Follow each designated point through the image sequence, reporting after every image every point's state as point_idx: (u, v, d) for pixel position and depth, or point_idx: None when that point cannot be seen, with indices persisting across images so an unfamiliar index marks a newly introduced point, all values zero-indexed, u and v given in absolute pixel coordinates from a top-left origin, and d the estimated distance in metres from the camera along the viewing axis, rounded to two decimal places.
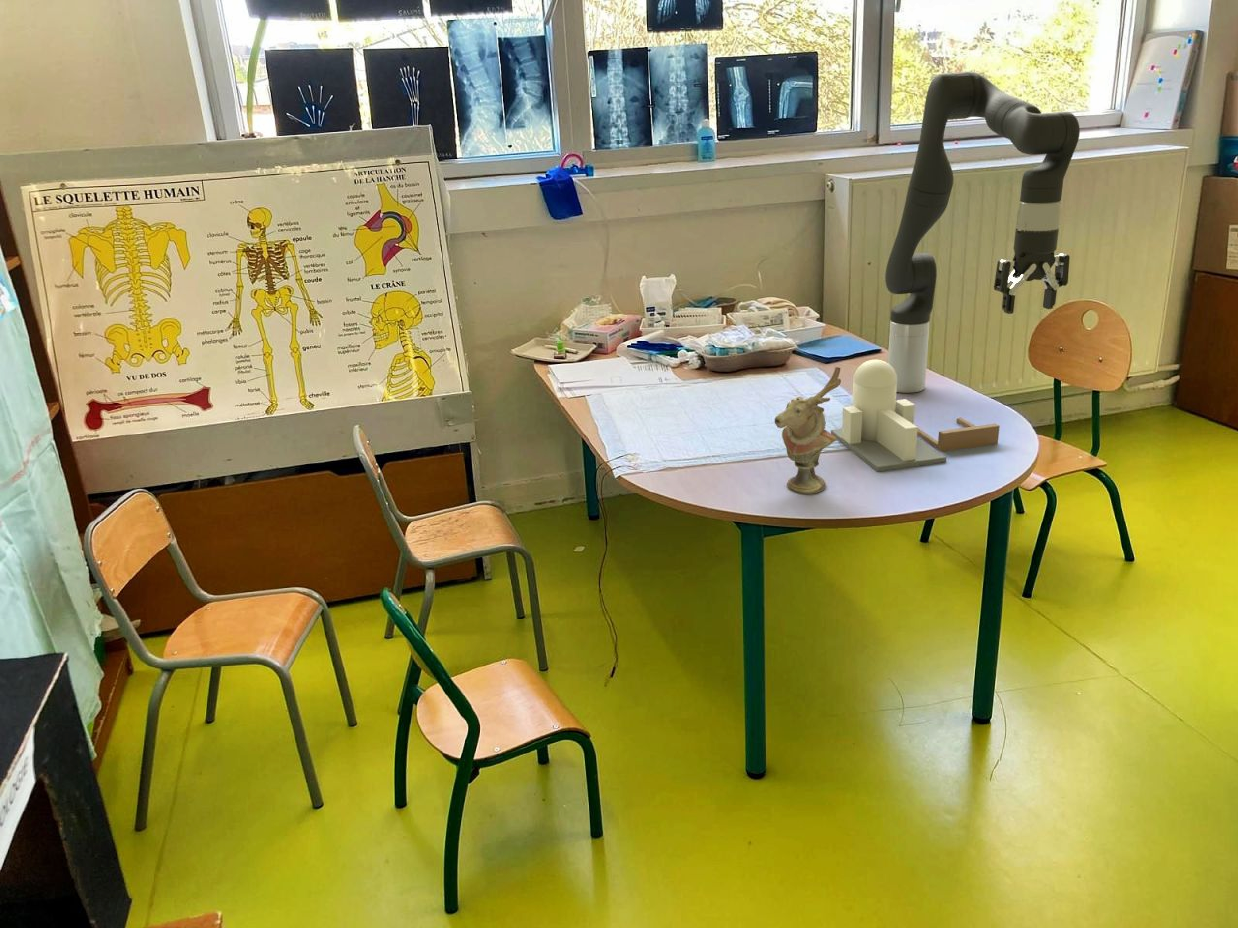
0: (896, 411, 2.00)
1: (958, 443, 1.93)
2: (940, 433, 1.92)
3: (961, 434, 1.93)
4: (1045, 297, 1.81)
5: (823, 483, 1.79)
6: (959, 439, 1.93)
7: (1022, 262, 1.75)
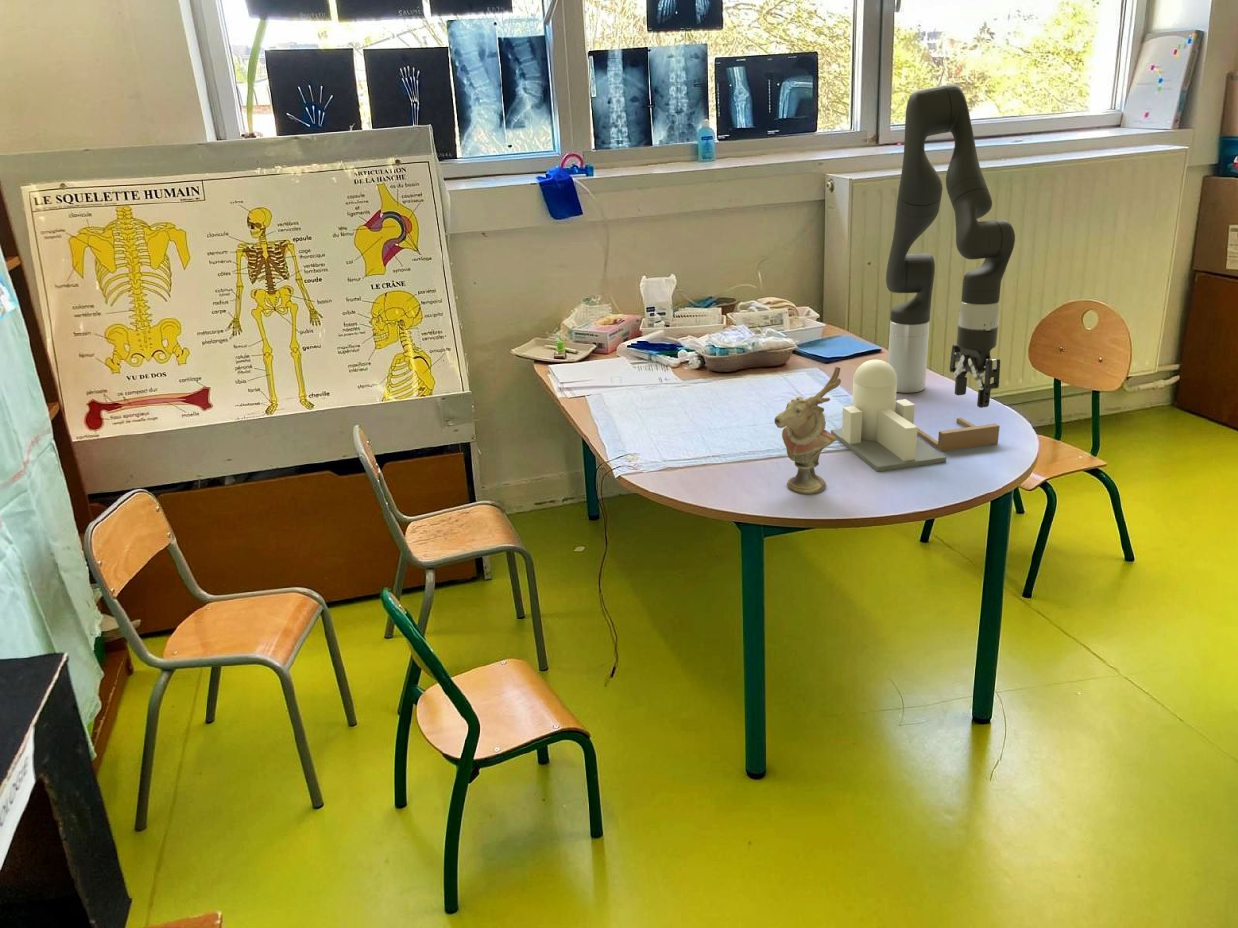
0: (896, 411, 2.00)
1: (958, 443, 1.93)
2: (940, 433, 1.92)
3: (961, 434, 1.93)
4: (959, 385, 1.93)
5: (823, 483, 1.79)
6: (959, 439, 1.93)
7: None
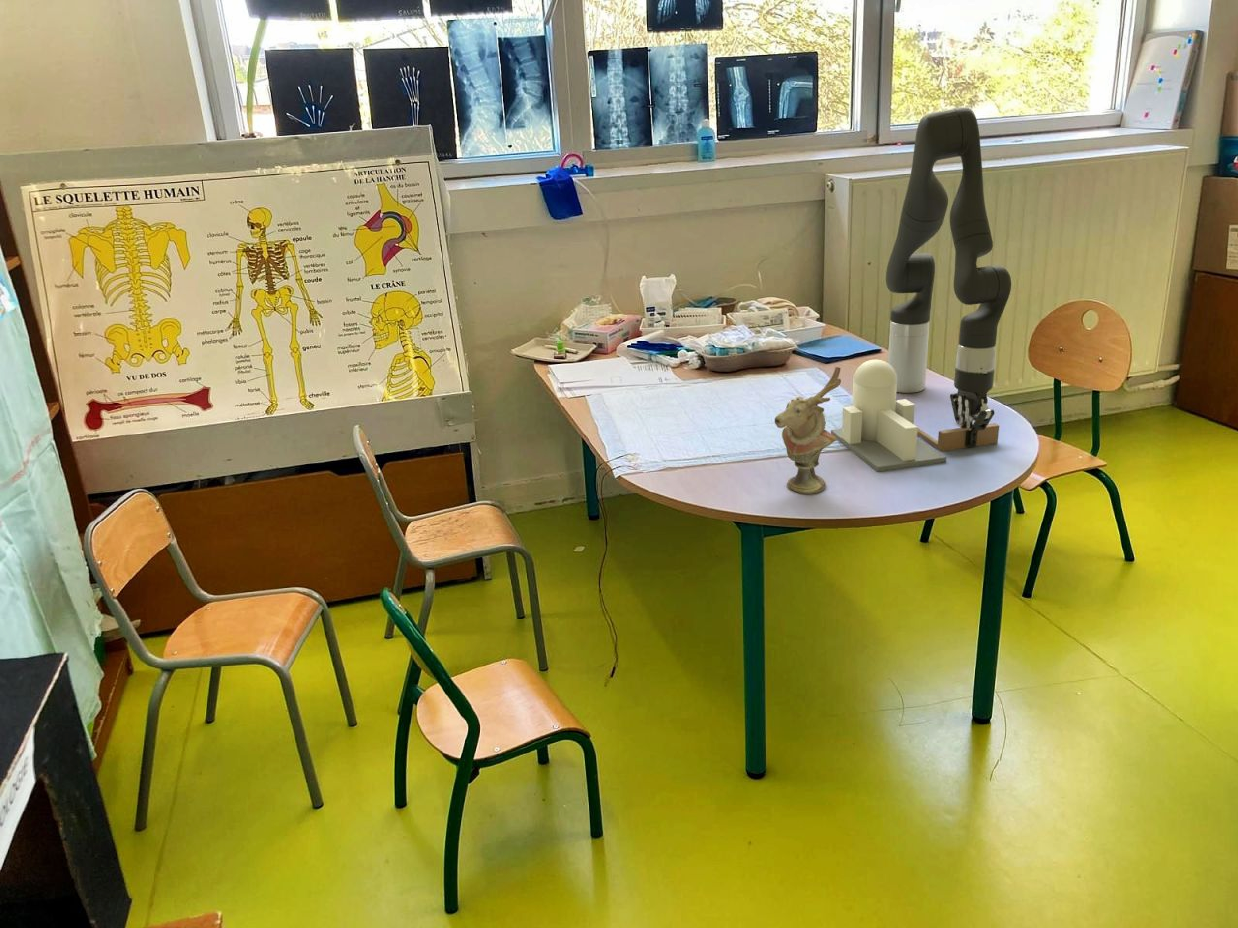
0: (896, 411, 2.00)
1: (958, 442, 1.93)
2: (940, 433, 1.92)
3: (961, 434, 1.93)
4: None
5: (823, 483, 1.79)
6: (959, 438, 1.93)
7: None
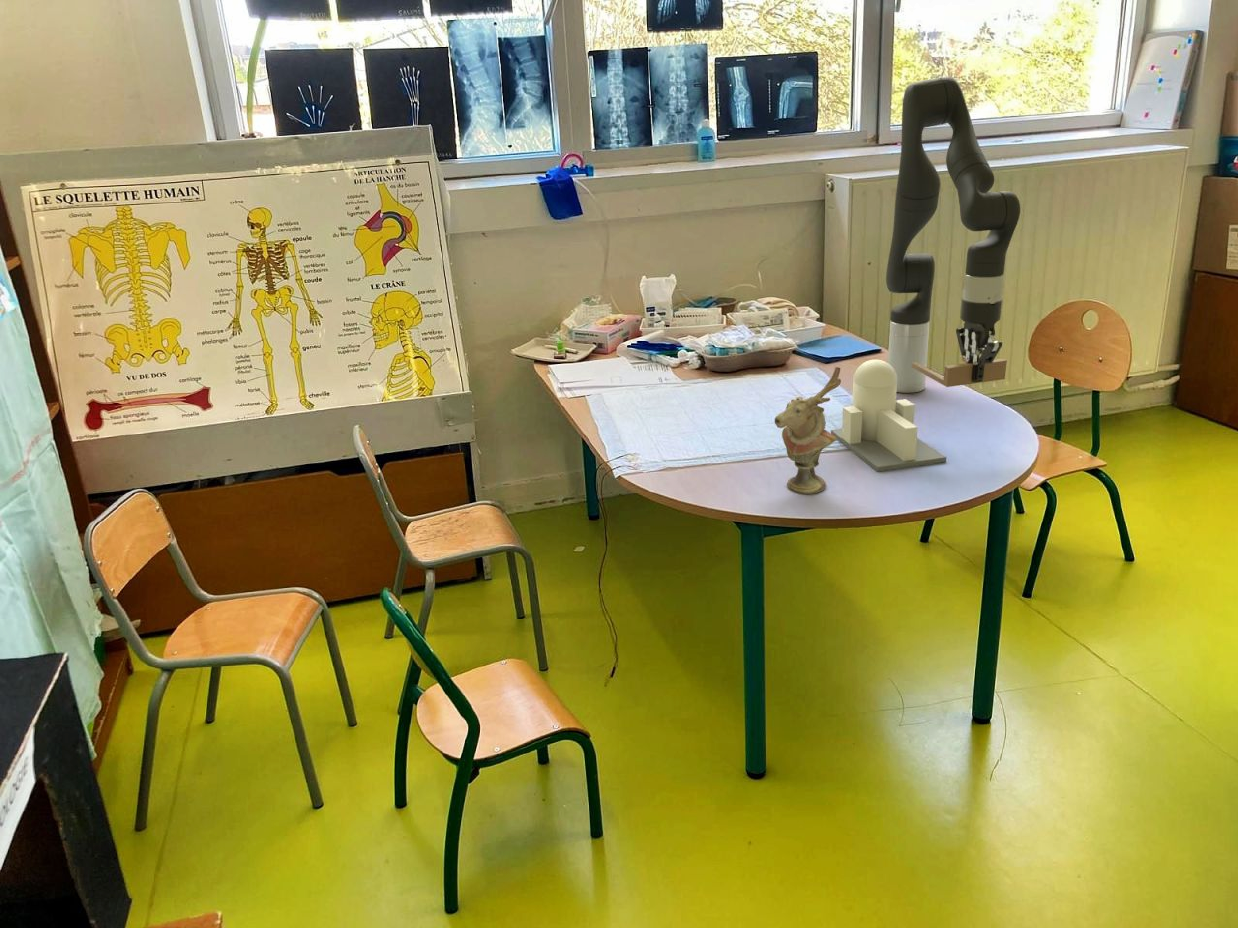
0: (896, 411, 2.00)
1: (964, 378, 1.88)
2: (946, 368, 1.87)
3: (967, 369, 1.87)
4: None
5: (823, 483, 1.79)
6: (966, 374, 1.88)
7: None
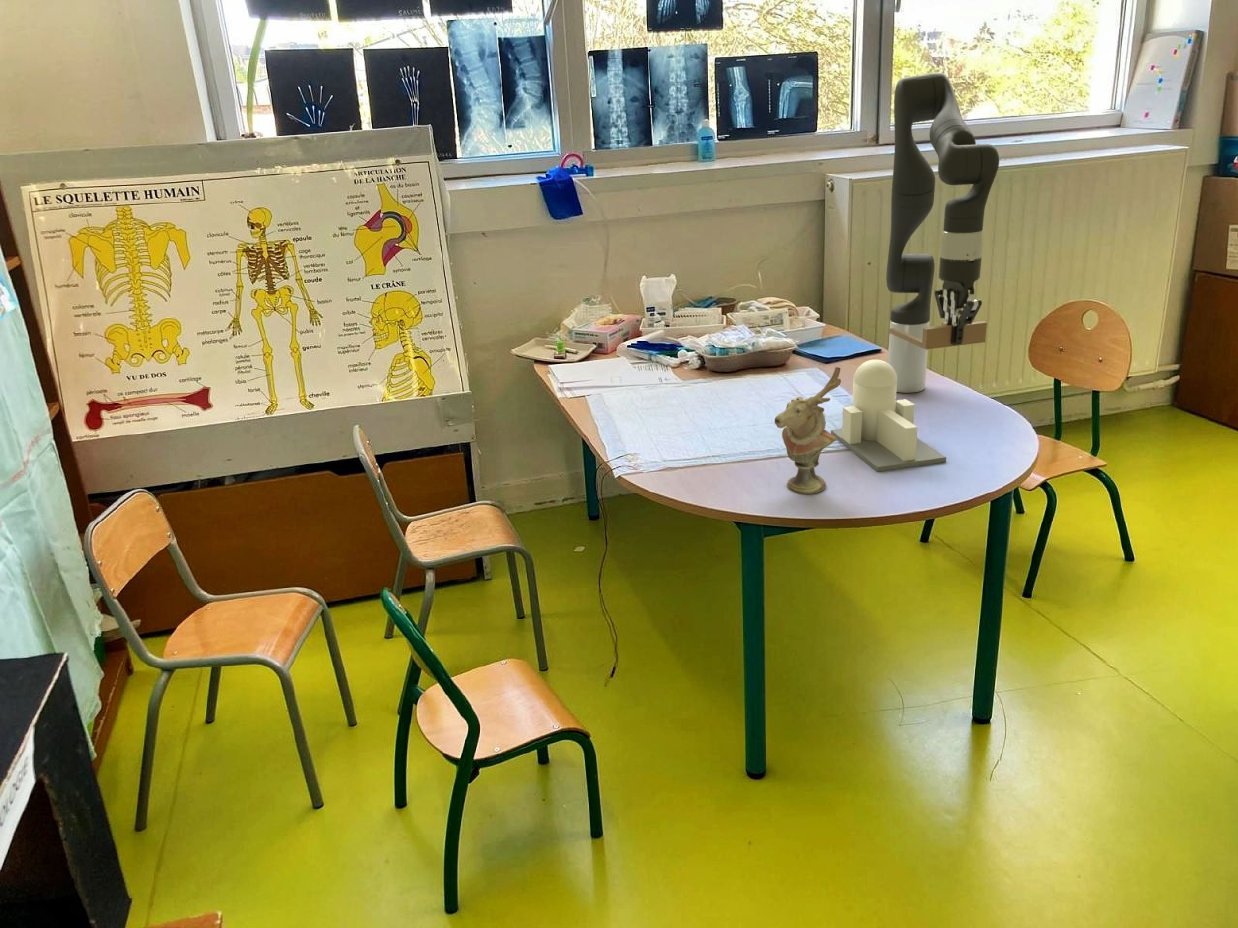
0: (896, 411, 2.00)
1: (943, 340, 1.82)
2: (924, 330, 1.81)
3: (946, 331, 1.81)
4: None
5: (823, 483, 1.79)
6: (945, 336, 1.82)
7: None
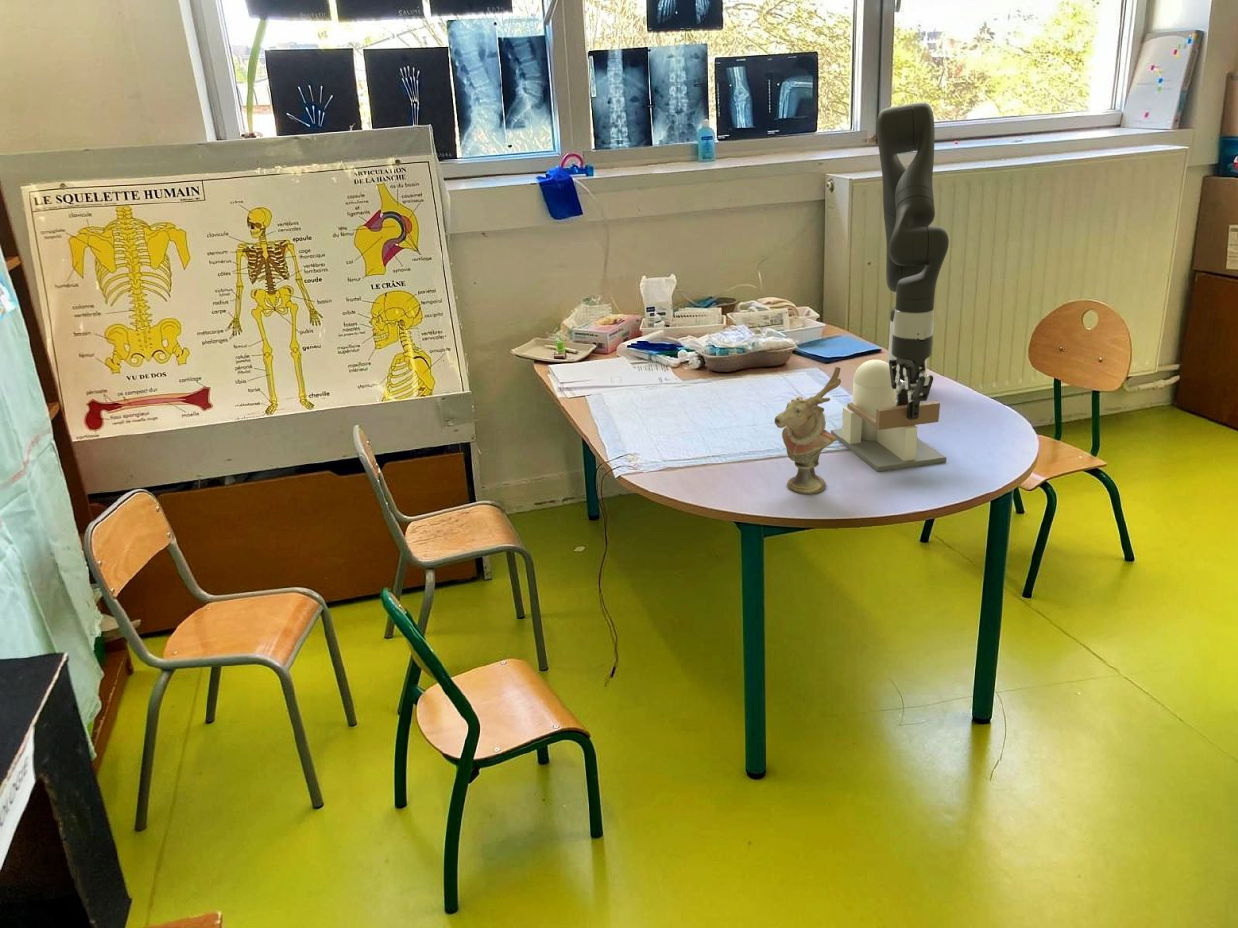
0: None
1: (896, 421, 1.85)
2: (877, 411, 1.84)
3: (899, 412, 1.84)
4: (900, 403, 1.86)
5: (823, 483, 1.79)
6: (898, 417, 1.84)
7: None
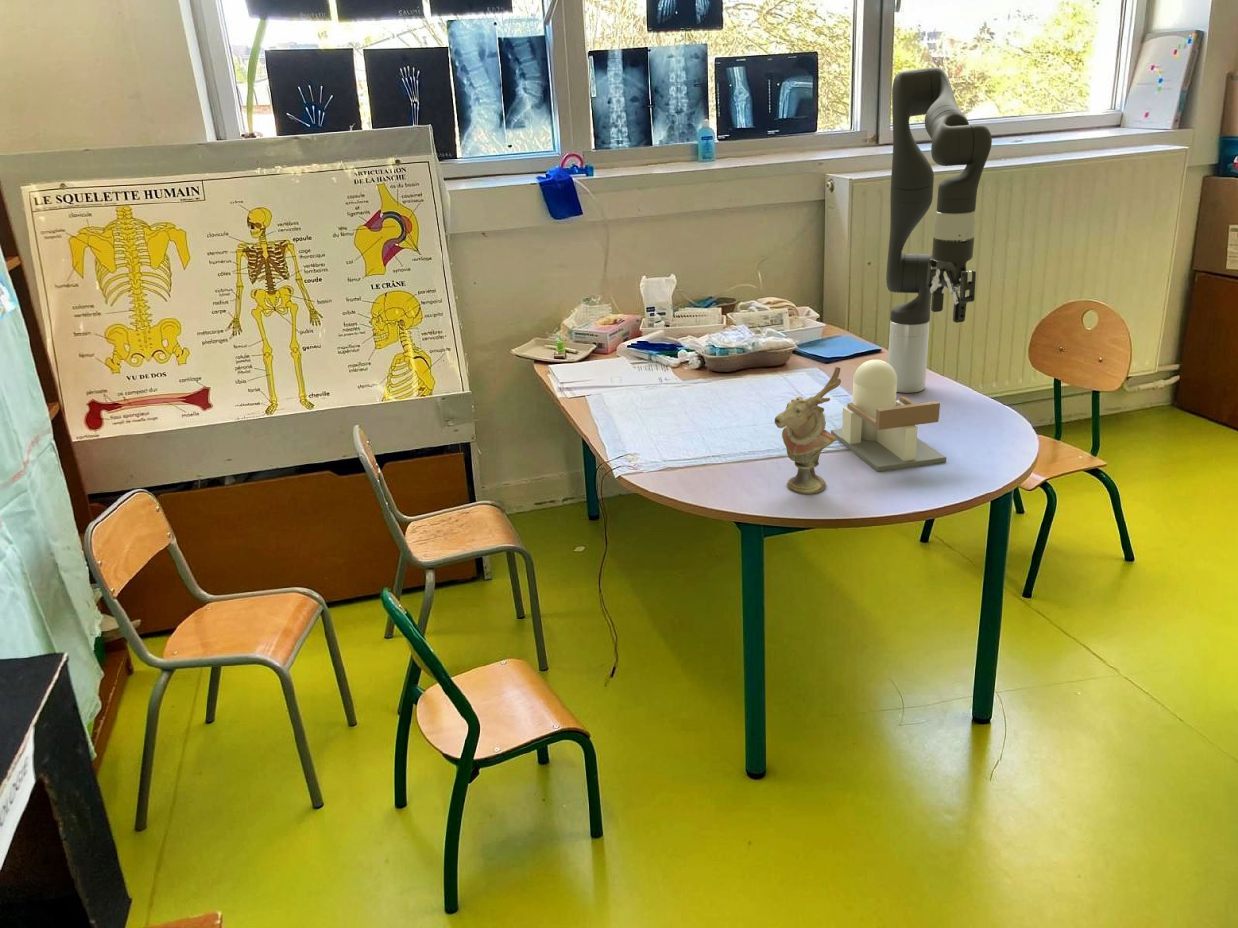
0: None
1: (896, 421, 1.85)
2: (877, 411, 1.84)
3: (899, 412, 1.84)
4: (935, 302, 1.88)
5: (823, 483, 1.79)
6: (898, 417, 1.84)
7: None
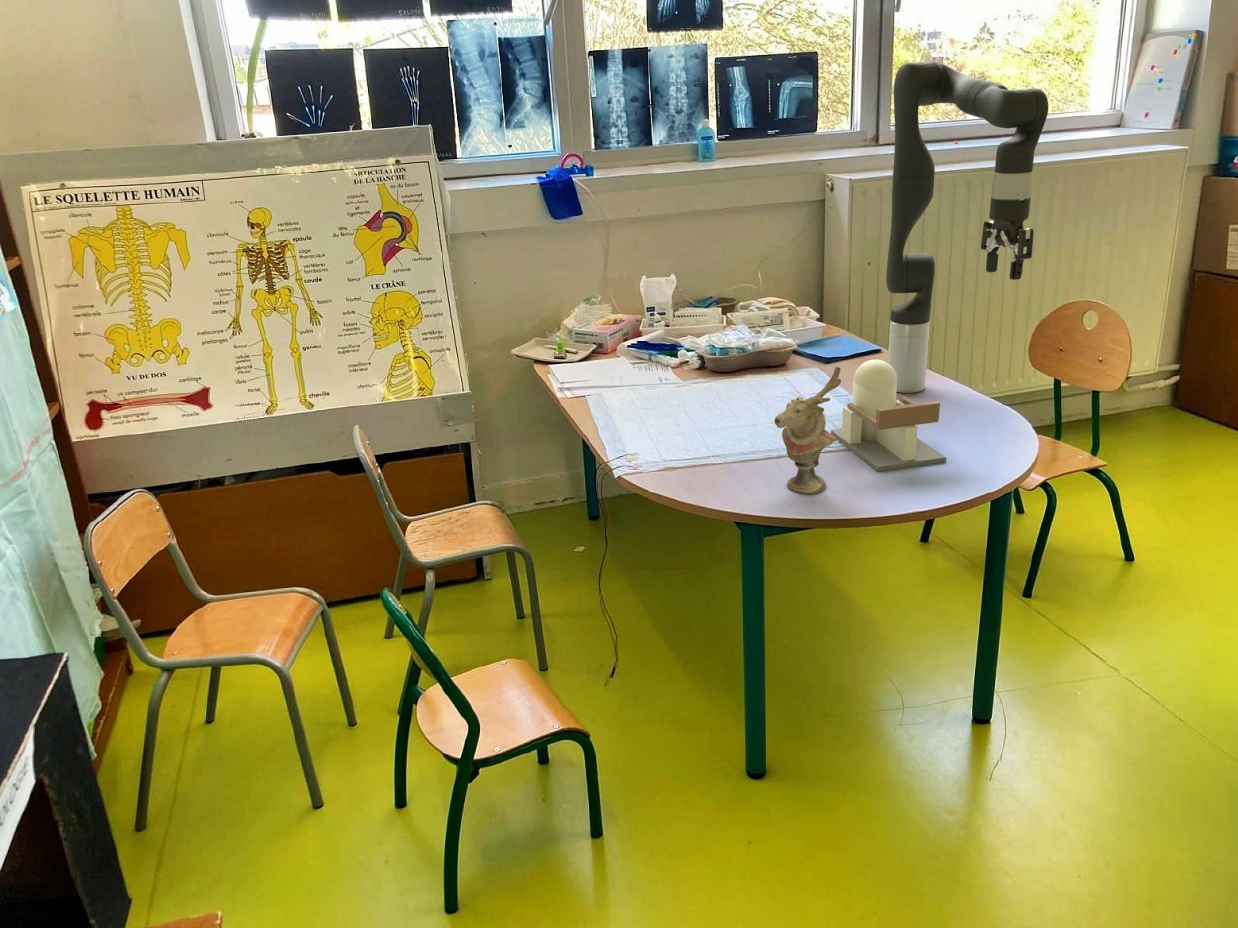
0: None
1: (896, 421, 1.85)
2: (877, 411, 1.84)
3: (899, 412, 1.84)
4: (990, 262, 1.96)
5: (823, 483, 1.79)
6: (898, 417, 1.84)
7: None
